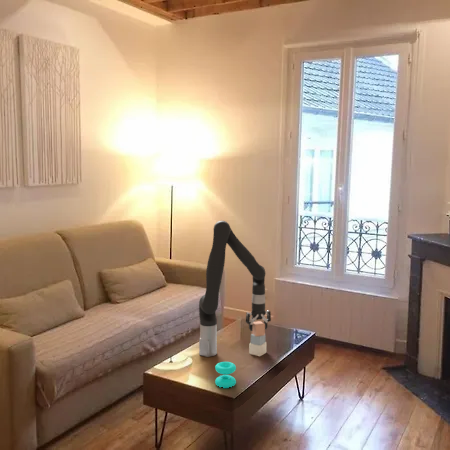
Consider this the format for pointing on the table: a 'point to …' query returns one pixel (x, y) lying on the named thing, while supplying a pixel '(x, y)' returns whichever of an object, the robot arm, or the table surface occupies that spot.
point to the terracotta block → (258, 328)
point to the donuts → (225, 369)
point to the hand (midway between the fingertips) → (258, 329)
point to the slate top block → (257, 339)
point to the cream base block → (257, 349)
